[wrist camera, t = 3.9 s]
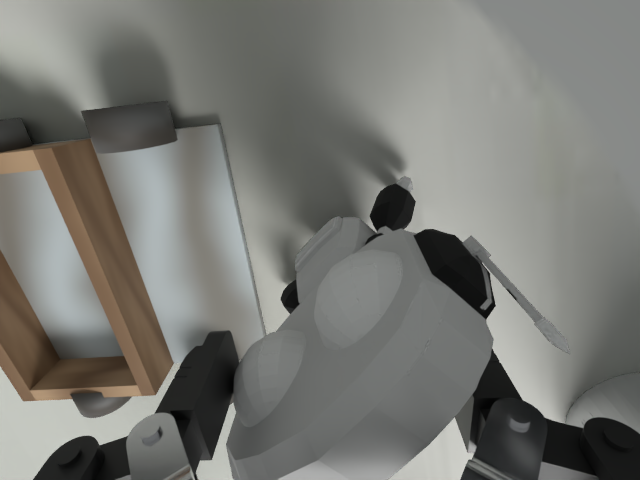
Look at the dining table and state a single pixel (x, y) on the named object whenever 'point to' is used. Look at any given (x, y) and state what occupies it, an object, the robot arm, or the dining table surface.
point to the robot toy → (367, 350)
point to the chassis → (118, 256)
